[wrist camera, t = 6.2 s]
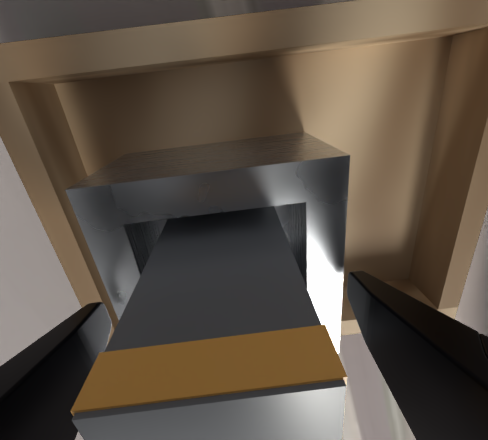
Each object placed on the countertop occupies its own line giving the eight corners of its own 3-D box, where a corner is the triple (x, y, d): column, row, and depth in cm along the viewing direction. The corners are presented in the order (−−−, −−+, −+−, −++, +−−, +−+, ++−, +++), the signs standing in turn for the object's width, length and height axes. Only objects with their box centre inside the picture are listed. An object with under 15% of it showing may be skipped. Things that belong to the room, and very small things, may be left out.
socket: (299, 129, 13) (350, 154, 8) (302, 267, 16) (338, 353, 11) (133, 149, 13) (65, 189, 8) (170, 283, 16) (142, 377, 11)
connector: (270, 194, 11) (349, 383, 4) (276, 275, 13) (339, 510, 6) (171, 207, 11) (66, 418, 4) (191, 286, 13) (143, 534, 6)
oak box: (464, 8, 11) (556, -24, 8) (412, 279, 17) (453, 321, 14) (34, 60, 11) (-42, 48, 8) (130, 314, 17) (108, 363, 14)
